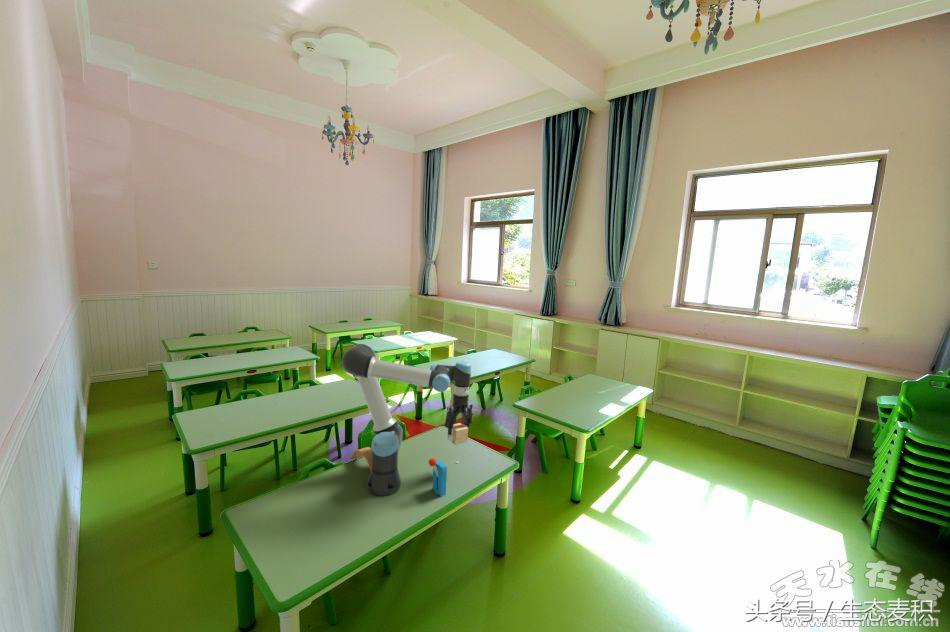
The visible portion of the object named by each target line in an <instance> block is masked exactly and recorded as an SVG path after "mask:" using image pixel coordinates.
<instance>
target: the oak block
mask: <svg viewBox="0 0 950 632" xmlns="http://www.w3.org/2000/svg"><path fill="white" fill-rule="evenodd" d="M463 424H464V423H463ZM463 424H462V423H461V422H459V423H454V425H453V429H454V433H453V442H451V443H452V444H454V445H461V444H466V443H467V442H468V435H469V427H468V428H467V427H466V426H464V425H465V424H464V425H463ZM446 439H447V440H448V439H449V434H448V433H447V438H446Z"/></svg>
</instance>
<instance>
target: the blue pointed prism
mask: <svg viewBox="0 0 950 632" xmlns="http://www.w3.org/2000/svg"><path fill="white" fill-rule="evenodd" d="M428 464H429V466H431V467H432V468H433V470H432V472H433V473H432V490H433V491H434V492H435V493H436V494H437V495H438V496H440V497H443V496H446V492H447V471H448V470H447V469H448V466H447V465H446V464H444V463H443V462H442V461H440V460H439V459H436V458H434V457H431V458H430V459H429V460H428Z"/></svg>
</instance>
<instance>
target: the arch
mask: <svg viewBox="0 0 950 632" xmlns="http://www.w3.org/2000/svg"><path fill="white" fill-rule="evenodd" d="M362 456H363V457H364V459H365V460H366V462H367V465H368V467H369V472H370V473H371V460H372V447H370V446H366V447H363V448H360V449H358V450H354V451H353V452H352V454H351V456H350V459H351V460H354V459H357V458H360V457H362Z"/></svg>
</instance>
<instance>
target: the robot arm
mask: <svg viewBox="0 0 950 632" xmlns="http://www.w3.org/2000/svg"><path fill="white" fill-rule="evenodd" d="M341 366H342V369H343V370H344V371H345V372H346V373H348V374H349V375H352V377H353V378H354V379H357V380H358V383H359V387H360V389H361V391H362V394H363V397H364V400H365V402H366V405H367V408H368V411H369V413H370V415H371V416H370V417H371V419H372V421H373V425H374V426H373V427H372V431H373V433H374V436H373V438H372V440H371V444H370V445H371V447H370V448H371V449H372V460H371V472H370V473H369V476H368V478H367V481H366V490H367V492H368V493H369V494H372V495H374V496H381V497H384V496H390V495H393V494H395V493H397V492H398V491H400V489H401V487H402V478H401V476H400V472H399V466H398V465H399V451H400V448H401V445H402V442H403V439H404V432H403V428H402V426H401V425H400V424H399V423H398V421H397V419H396V417H395V418H394V417H392V415H391V412H390V408H389V405H388V403H387V400H386V397H385V395H384V392H383V390H382V389H383V388H382V387H381V384H380V382H379V379H383V380H389V381H393V382H394V381H395V382H400V383H404V384H411V385H415V386H416V385H417V386H422V387H427V388H432V389H433V390H435V391H437V392H439V393H441V392H442V393H443V392H445V391H446V392H447V390H448V389H449V387H450V384H451V382H452V383H453V382H454V383H453V392H452V393H453V395H452V405H451V406H446V415H445V423H444V427H445V428H447V435H448V434H449V439H447V440H448V441H449V442H451V443H452V442H453V433H454V429H453V425H454V424H456V423H455V422H456V420H457V417H458V416H459V414H460V413H461V416H462V421H463V425H464V426H466V427H467V428H468V429H469V427H471V426H470V425H471V424H472V423H473V413H472V412H473V411H472V410H473V407H474V405H473V404H472V403H470V402H469V398H470V397H469V395H470V384H471V376H472V364H471V363H470V362H467V361H462V360H461V361H456V363H455V365H444V364H431V365H430V369H429V368H428V369H427V368H423V367H422V368H421V367H417V366H412V365H407V364H401V363H398V362H397V363H396V362H391V361H386V360H381V359H377V358H375V351H374V348H372V346H371V345H369V344H367V343H357V344H355V345H352V346H350V348H349V349H348V350H347V351H346V352H344V353H343V355H342V358H341Z"/></svg>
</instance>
